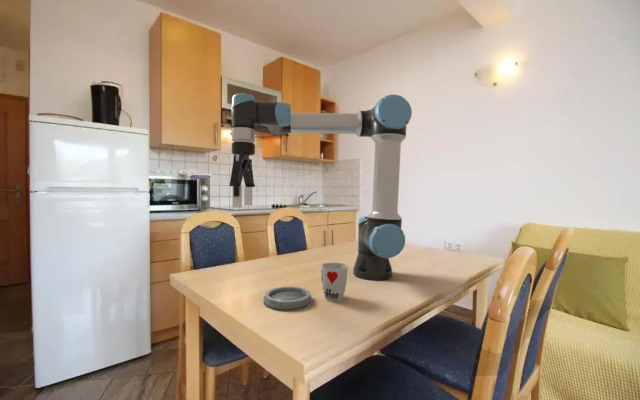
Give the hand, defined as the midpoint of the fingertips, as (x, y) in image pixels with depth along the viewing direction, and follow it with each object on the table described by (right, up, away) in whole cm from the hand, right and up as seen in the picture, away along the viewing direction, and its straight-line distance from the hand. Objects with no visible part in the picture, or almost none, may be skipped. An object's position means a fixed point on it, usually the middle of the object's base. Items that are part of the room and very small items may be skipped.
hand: (243, 206), depth 98 cm
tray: (+16, -28, -11) cm, 34 cm away
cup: (+30, -28, -8) cm, 42 cm away
